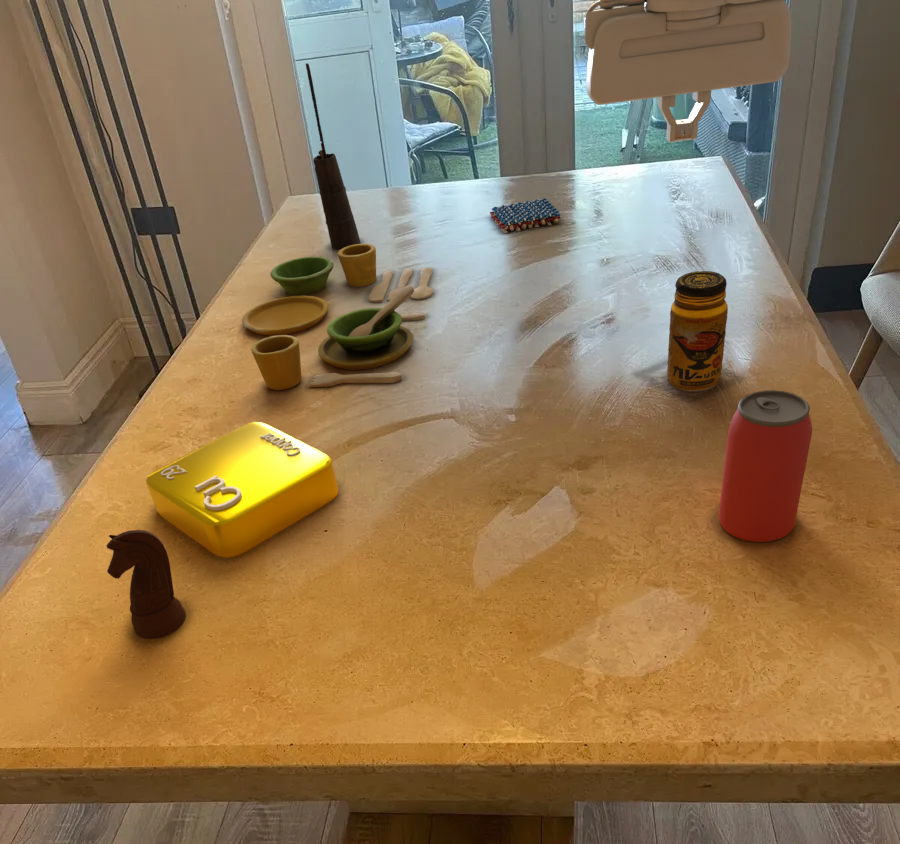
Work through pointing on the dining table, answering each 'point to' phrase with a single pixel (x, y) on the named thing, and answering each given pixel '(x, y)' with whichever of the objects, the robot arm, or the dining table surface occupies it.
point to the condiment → (697, 331)
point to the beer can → (765, 465)
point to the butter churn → (333, 192)
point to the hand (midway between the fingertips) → (681, 139)
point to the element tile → (243, 488)
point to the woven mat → (524, 215)
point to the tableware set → (334, 321)
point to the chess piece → (147, 583)
